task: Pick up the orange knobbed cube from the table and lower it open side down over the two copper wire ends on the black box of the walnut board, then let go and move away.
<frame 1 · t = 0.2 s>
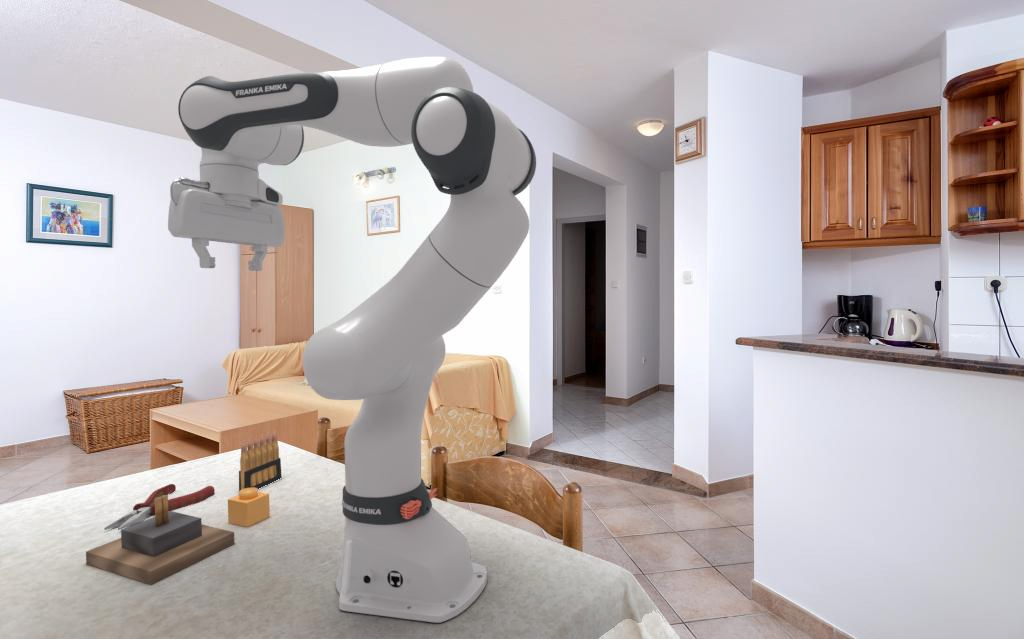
hand: (232, 269, 89), 47 cm above the table, tool pointing down, fingers open, 8 cm apart
pliers: (155, 511, 106), on the table
orange knobbed cube: (249, 519, 99), on the table
board: (163, 553, 87), on the table
ammunition clip: (261, 487, 117), on the table
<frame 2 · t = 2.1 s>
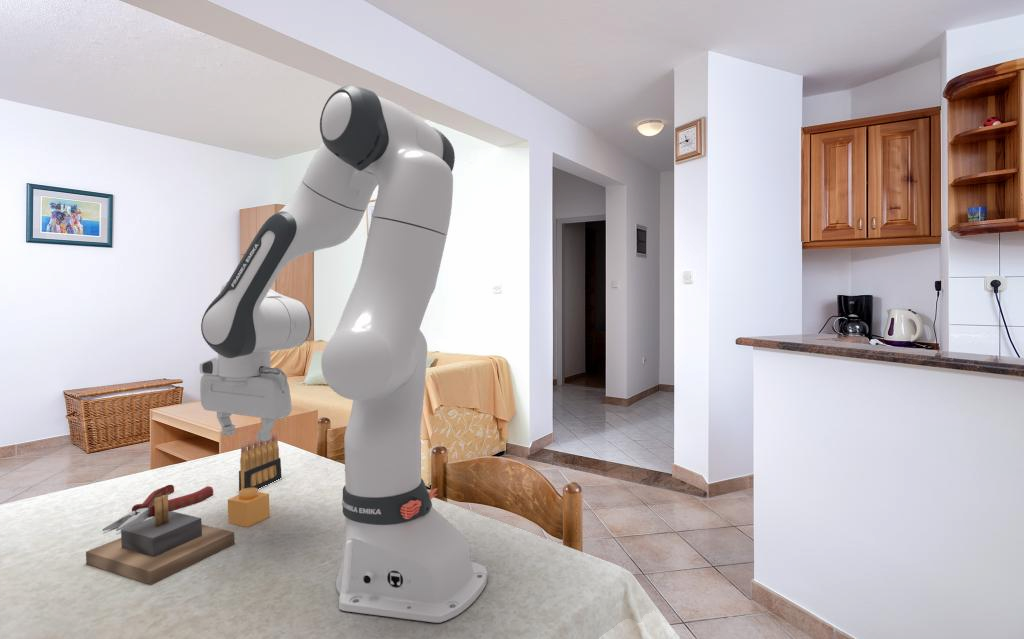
hand: (245, 437, 99), 16 cm above the table, tool pointing down, fingers open, 8 cm apart
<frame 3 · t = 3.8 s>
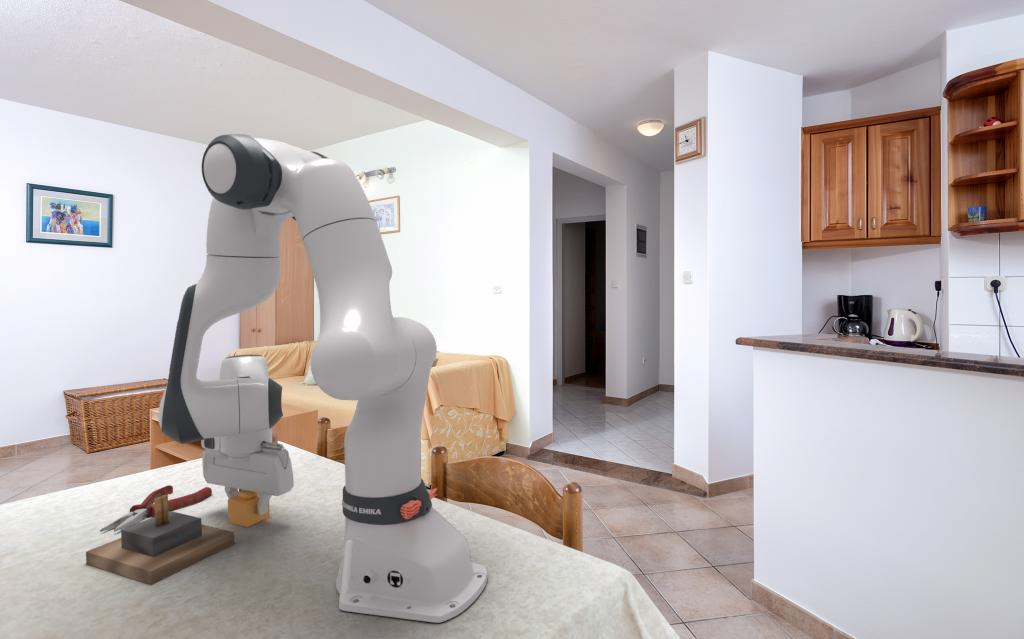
hand: (248, 511, 99), 2 cm above the table, tool pointing down, fingers closed on orange knobbed cube, 5 cm apart
orange knobbed cube: (249, 519, 99), on the table, touching gripper
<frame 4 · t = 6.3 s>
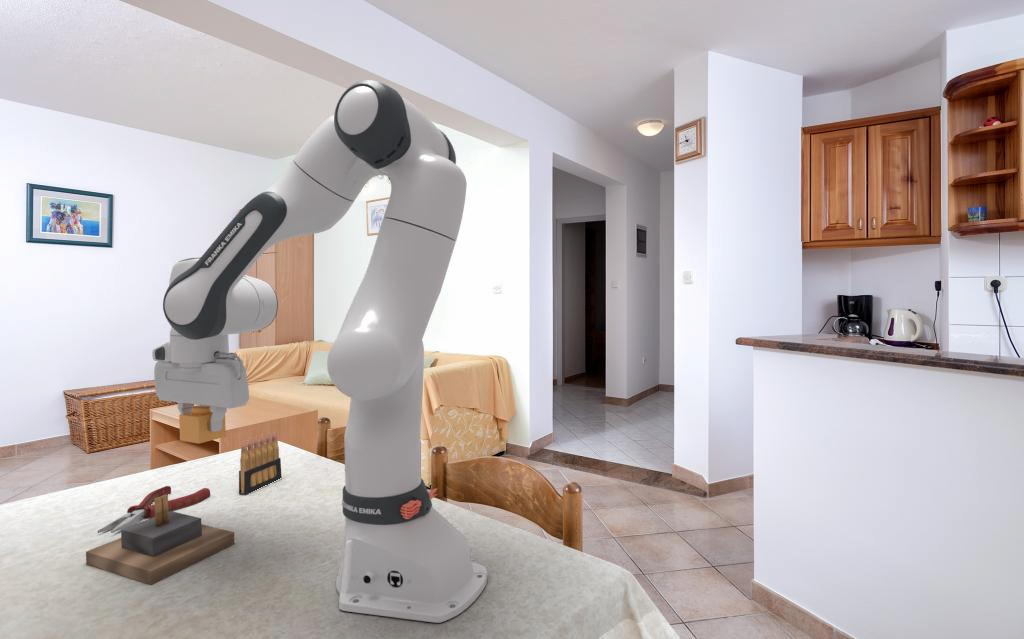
hand: (202, 428, 92), 19 cm above the table, tool pointing down, fingers closed on orange knobbed cube, 5 cm apart
orange knobbed cube: (203, 438, 92), point 18 cm above the table, touching gripper
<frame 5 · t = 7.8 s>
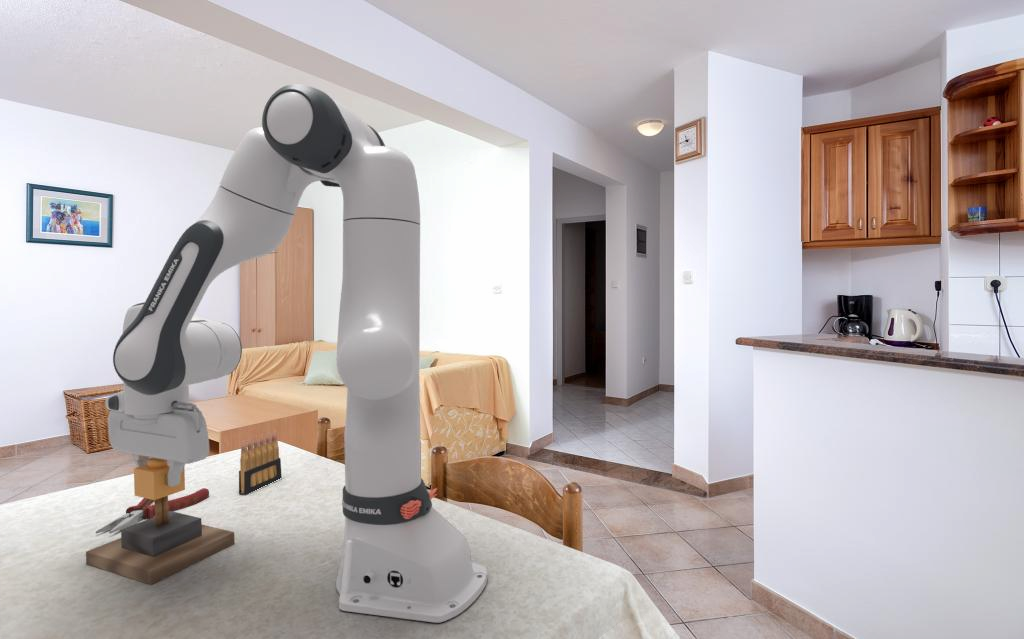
hand: (159, 482, 86), 12 cm above the table, tool pointing down, fingers closed on orange knobbed cube, 5 cm apart
orange knobbed cube: (160, 492, 86), point 10 cm above the table, touching gripper
when the fingers open (8 cm above the table, at t = 8.9 s): orange knobbed cube stays where it is, resting on board.
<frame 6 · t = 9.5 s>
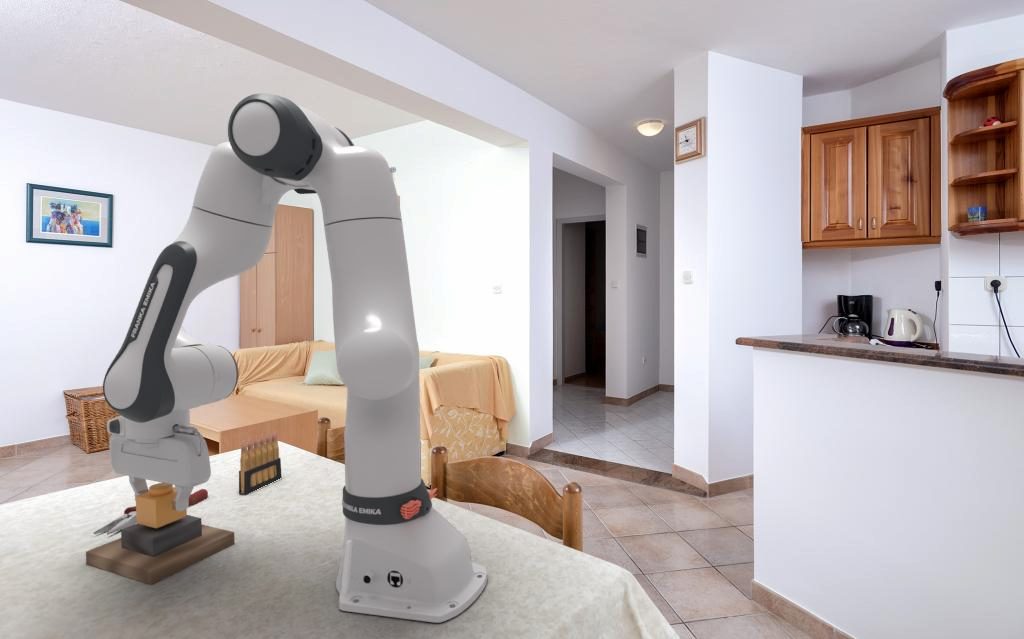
hand: (161, 505, 86), 8 cm above the table, tool pointing down, fingers open, 8 cm apart
orange knobbed cube: (162, 519, 86), point 6 cm above the table, touching board
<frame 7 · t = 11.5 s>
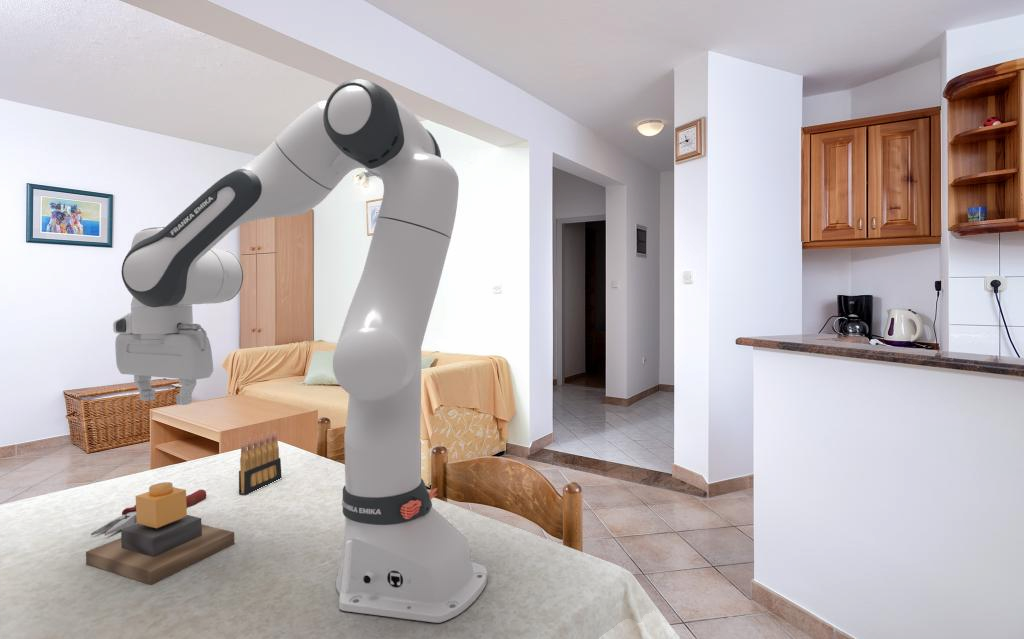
hand: (165, 402, 91), 24 cm above the table, tool pointing down, fingers open, 8 cm apart
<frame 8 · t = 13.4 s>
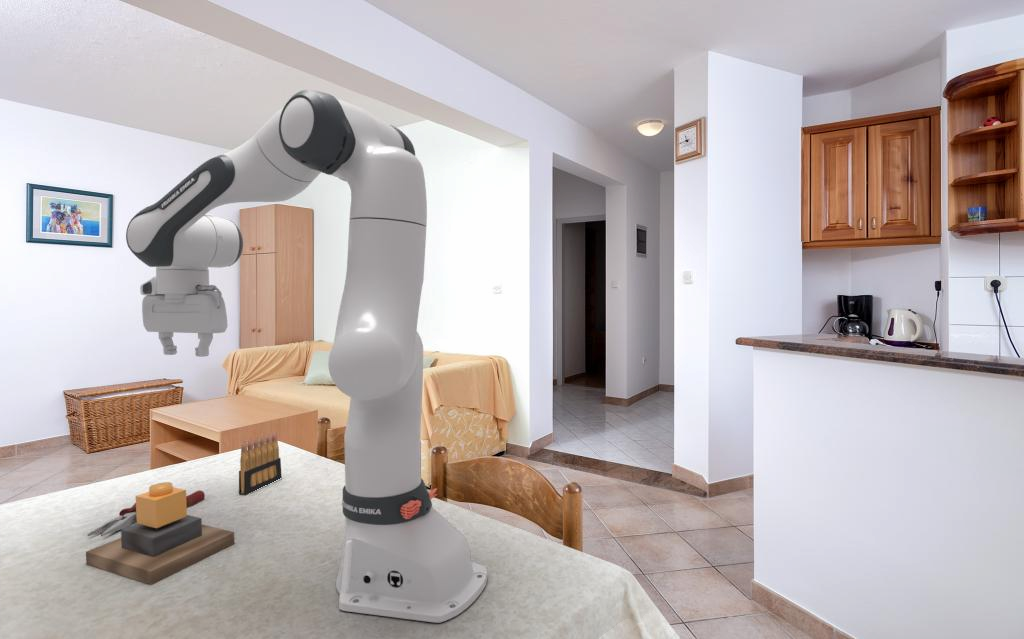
hand: (186, 355, 103), 31 cm above the table, tool pointing down, fingers open, 8 cm apart
at the end: orange knobbed cube 0.0 cm off-centre on the board, point 5.7 cm above the board's base; orange knobbed cube tilted 0°; the gripper is holding nothing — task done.
